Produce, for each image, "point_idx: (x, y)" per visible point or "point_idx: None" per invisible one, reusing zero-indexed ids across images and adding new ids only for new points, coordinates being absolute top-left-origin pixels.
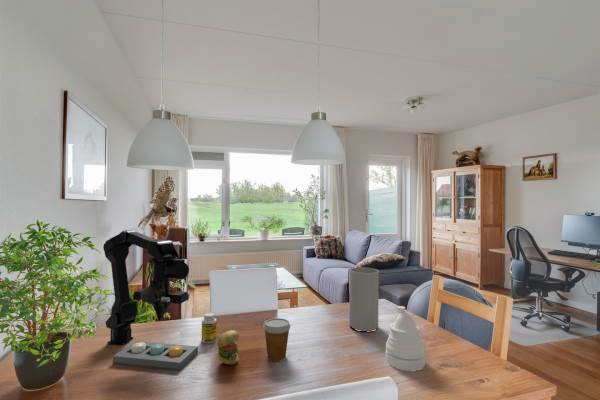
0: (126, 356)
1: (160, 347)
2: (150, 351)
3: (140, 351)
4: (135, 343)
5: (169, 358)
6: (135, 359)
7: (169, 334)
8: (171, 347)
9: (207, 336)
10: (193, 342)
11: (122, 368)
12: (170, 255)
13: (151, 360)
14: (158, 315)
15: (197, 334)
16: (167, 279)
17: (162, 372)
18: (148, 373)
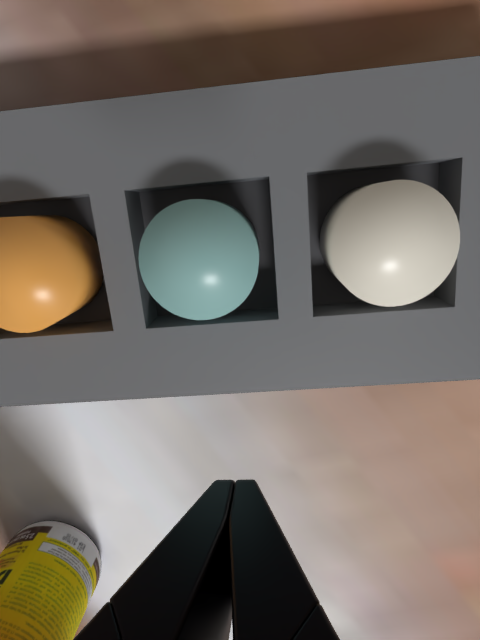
0: (397, 84)
1: (155, 254)
2: (227, 206)
3: (336, 208)
4: (449, 266)
5: (7, 166)
6: (288, 81)
7: (376, 583)
8: (62, 281)
9: (9, 556)
10: (137, 515)
11: (361, 33)
12: None
13: (132, 98)
14: (237, 532)
15: None
16: None
17: (25, 78)
18: (109, 30)
